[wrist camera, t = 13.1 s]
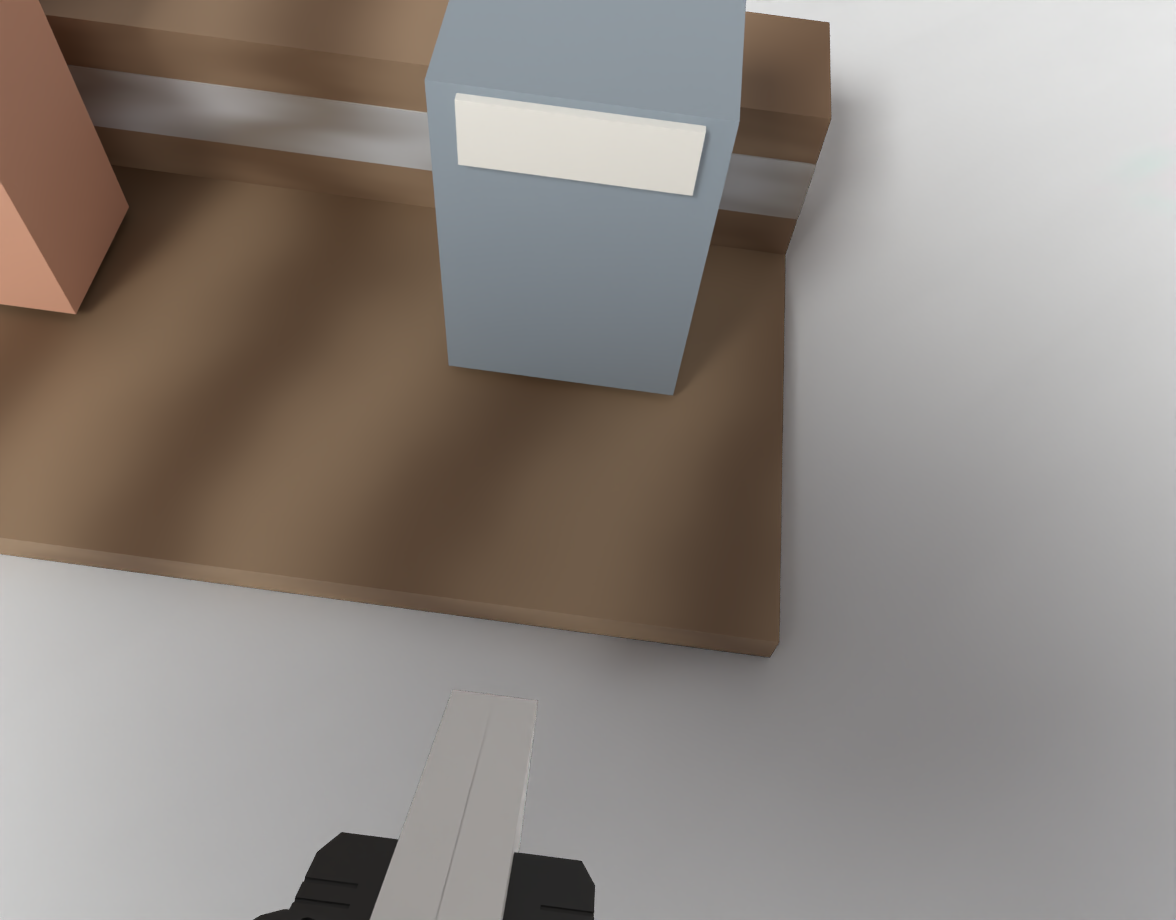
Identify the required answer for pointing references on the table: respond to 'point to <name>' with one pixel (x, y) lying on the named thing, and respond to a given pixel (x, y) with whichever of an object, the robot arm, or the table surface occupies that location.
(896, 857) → the table surface
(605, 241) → the blue gray box
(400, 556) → the wooden display shelf
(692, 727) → the table surface
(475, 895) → the robot arm
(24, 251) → the salmon orange box
